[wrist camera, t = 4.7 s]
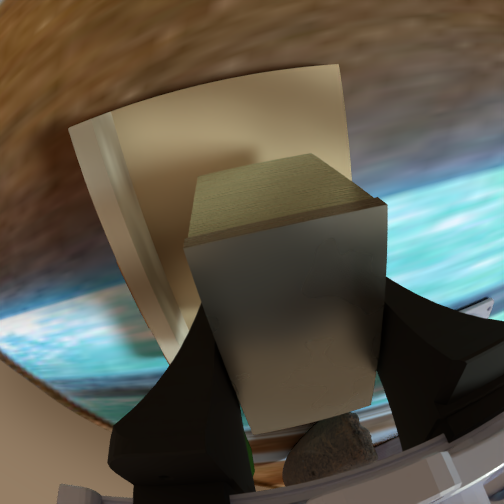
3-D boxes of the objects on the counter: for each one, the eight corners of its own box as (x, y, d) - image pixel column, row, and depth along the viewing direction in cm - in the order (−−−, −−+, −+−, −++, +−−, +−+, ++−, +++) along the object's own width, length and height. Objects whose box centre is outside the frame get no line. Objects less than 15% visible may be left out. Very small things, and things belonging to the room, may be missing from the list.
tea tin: (196, 175, 12) (183, 248, 7) (313, 151, 12) (389, 204, 7) (239, 331, 16) (253, 435, 11) (328, 310, 16) (371, 404, 11)
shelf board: (347, 319, 21) (366, 358, 18) (188, 355, 21) (186, 398, 18) (329, 64, 13) (363, 62, 10) (95, 117, 13) (63, 130, 10)
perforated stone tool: (298, 460, 34) (309, 506, 28) (261, 459, 32) (269, 509, 26) (374, 396, 28) (398, 453, 22) (334, 393, 26) (356, 458, 20)
